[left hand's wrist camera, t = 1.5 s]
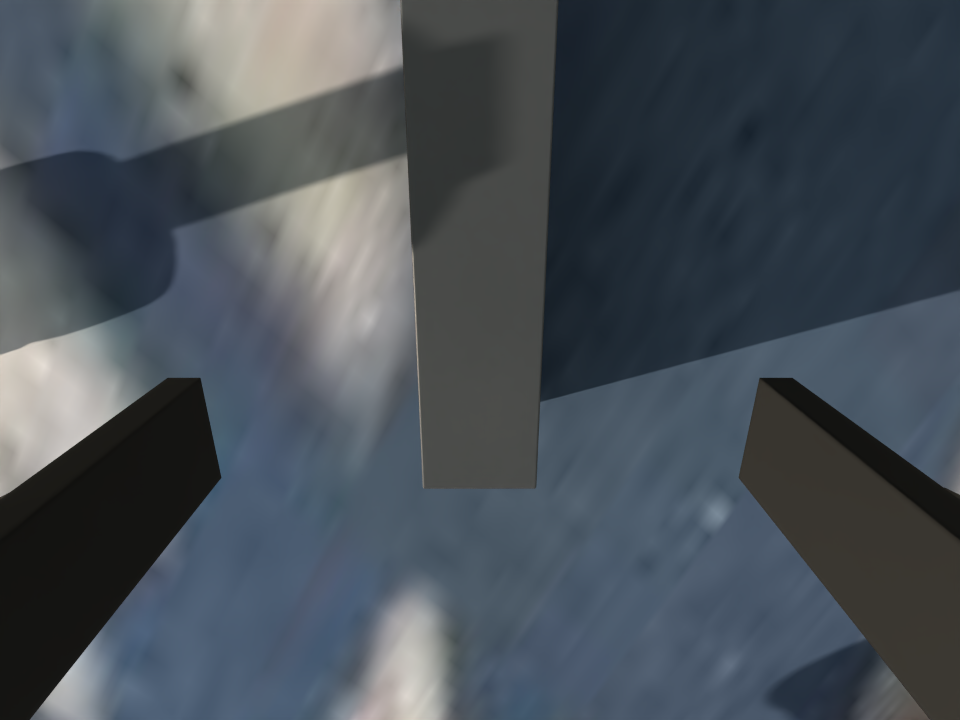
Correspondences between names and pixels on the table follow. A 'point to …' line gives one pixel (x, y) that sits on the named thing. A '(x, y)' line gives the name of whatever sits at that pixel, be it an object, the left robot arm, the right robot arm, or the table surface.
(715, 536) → the table surface
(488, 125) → the beam
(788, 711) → the table surface
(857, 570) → the left robot arm
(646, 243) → the table surface
